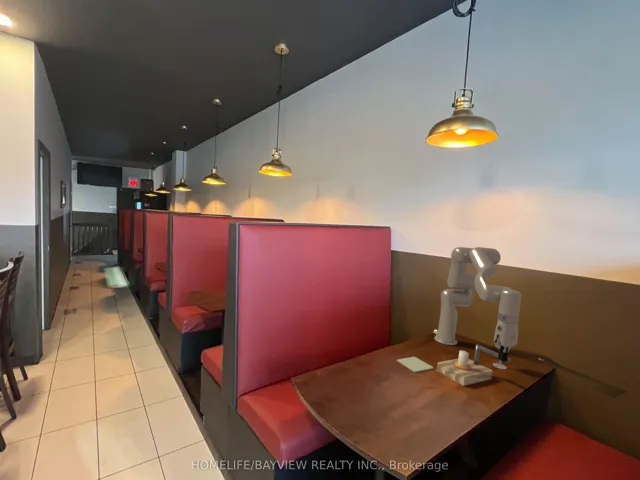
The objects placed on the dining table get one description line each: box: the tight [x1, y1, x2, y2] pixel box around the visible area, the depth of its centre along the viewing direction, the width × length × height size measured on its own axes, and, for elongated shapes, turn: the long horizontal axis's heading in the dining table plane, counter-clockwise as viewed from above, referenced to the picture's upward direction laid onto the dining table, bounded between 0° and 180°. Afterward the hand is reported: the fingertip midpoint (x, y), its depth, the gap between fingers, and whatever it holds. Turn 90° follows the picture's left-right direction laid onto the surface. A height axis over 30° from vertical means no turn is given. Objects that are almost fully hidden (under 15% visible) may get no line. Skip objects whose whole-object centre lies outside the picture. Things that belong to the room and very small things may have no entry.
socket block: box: [436, 358, 494, 387], centre depth 143 cm, size 14×20×4 cm
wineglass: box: [492, 342, 512, 370], centre depth 156 cm, size 8×8×18 cm
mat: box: [396, 356, 434, 373], centre depth 148 cm, size 12×12×1 cm
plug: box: [455, 350, 470, 370], centre depth 142 cm, size 6×6×11 cm
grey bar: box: [473, 344, 512, 365], centre depth 140 cm, size 16×2×9 cm, turn 26°
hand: (502, 360), depth 133 cm, fingers closed
